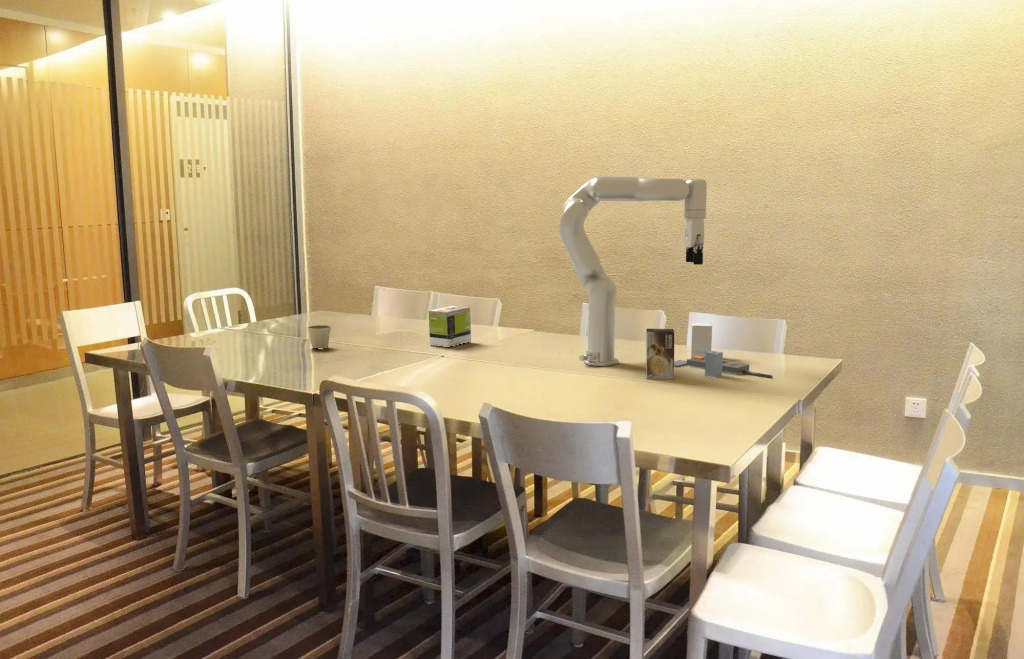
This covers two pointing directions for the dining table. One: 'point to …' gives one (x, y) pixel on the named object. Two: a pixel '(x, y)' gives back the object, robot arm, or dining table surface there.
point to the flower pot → (319, 335)
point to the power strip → (725, 366)
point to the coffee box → (660, 354)
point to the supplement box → (701, 339)
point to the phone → (680, 363)
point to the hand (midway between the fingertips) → (694, 263)
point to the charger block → (713, 363)
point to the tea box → (449, 326)
